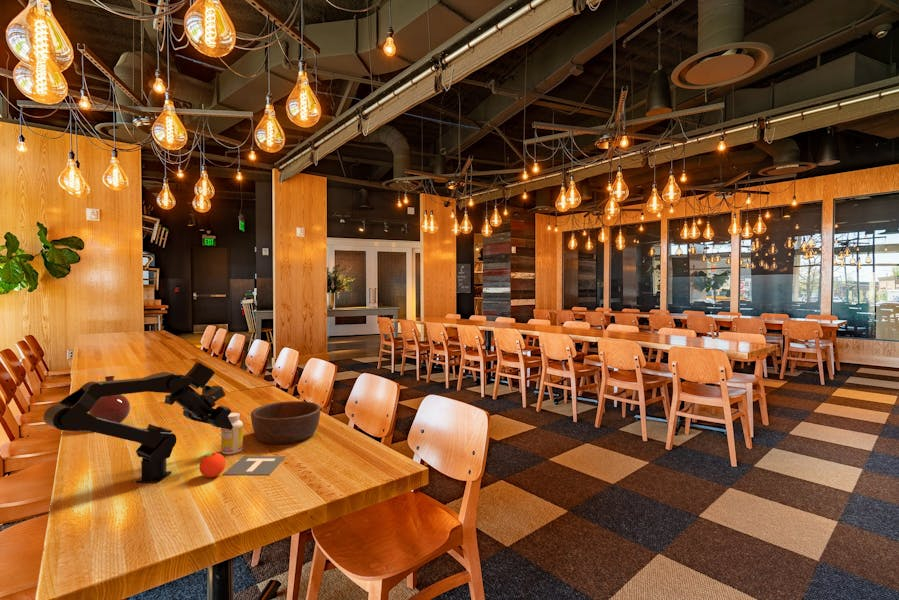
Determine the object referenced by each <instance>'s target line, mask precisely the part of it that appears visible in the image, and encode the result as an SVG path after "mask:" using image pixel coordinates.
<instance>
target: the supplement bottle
mask: <svg viewBox="0 0 899 600" xmlns="http://www.w3.org/2000/svg"><path fill="white" fill-rule="evenodd" d="M228 418H229V420H230V422H231V424H232V426H233V428H232V430H229V429H224V428H220V431H221V433H220V435H221V437H220V438H221V440H220V441H221V446H220V447H221V453H222V454H224V455H234V454H239V453H240V452H242V451H243V449H244V431H243V430H244V427H243V426H244V424H243V421H242V420H240V412H231V413H230V414H229V416H228Z"/></svg>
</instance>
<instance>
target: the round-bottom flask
mask: <svg viewBox="0 0 899 600" xmlns="http://www.w3.org/2000/svg"><path fill="white" fill-rule="evenodd" d="M104 379H105V381H113V380H115V375H107V376H104ZM130 411H131V403H130V401H129V400H128V398H127V397H126V396H124V394H121V395H112V396H104V397H101V398H99V399H98V400H97V401H96V403H95V404H94V406H93V407H92V408H91V410H90V411H89V412H88V413H89V414H91V415H93V416H94V417H98V418H102V419H106V420H110V421H114V422H117V423H121V424H122V422H123V421H124V420H126V419H127V417H128V416H129V414H130Z"/></svg>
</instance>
